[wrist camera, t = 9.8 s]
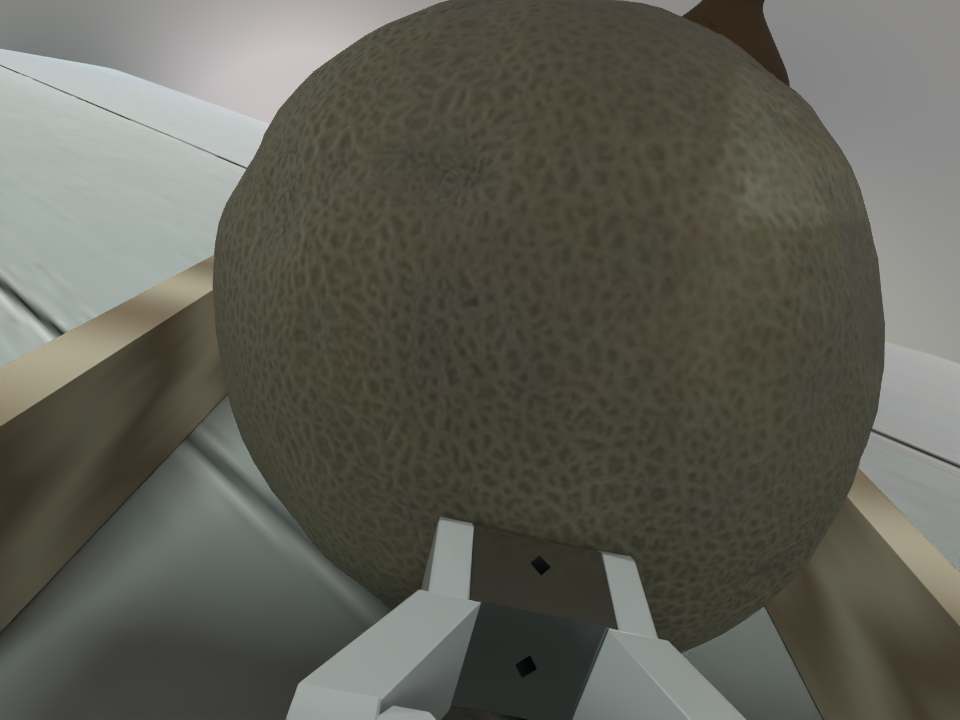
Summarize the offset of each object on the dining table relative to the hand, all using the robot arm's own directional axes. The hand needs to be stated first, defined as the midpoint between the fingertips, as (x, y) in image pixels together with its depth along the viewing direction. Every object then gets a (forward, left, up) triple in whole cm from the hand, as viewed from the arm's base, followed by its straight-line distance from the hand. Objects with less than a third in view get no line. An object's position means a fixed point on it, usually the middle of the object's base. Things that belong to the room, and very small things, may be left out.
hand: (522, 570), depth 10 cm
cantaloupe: (-4, -5, -7) cm, 9 cm away
